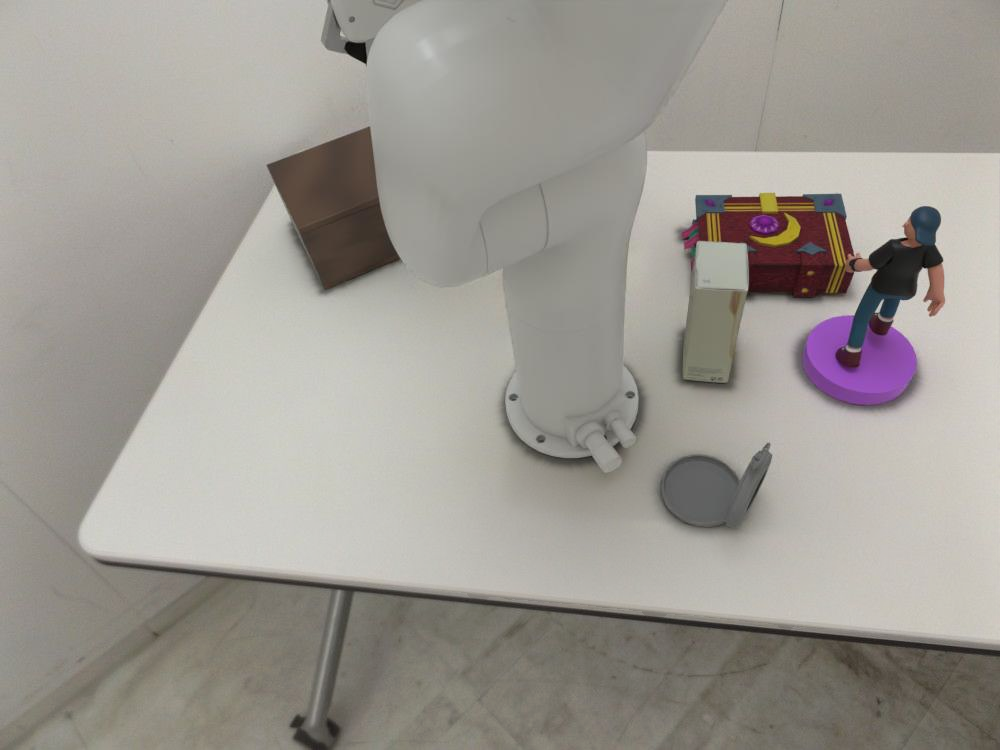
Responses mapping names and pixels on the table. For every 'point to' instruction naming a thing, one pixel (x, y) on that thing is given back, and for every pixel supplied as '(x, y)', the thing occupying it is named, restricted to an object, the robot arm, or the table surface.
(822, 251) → the decorative book
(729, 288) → the cosmetic box
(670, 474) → the pocket watch
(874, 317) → the figurine
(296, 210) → the cabinet
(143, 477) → the table surface
